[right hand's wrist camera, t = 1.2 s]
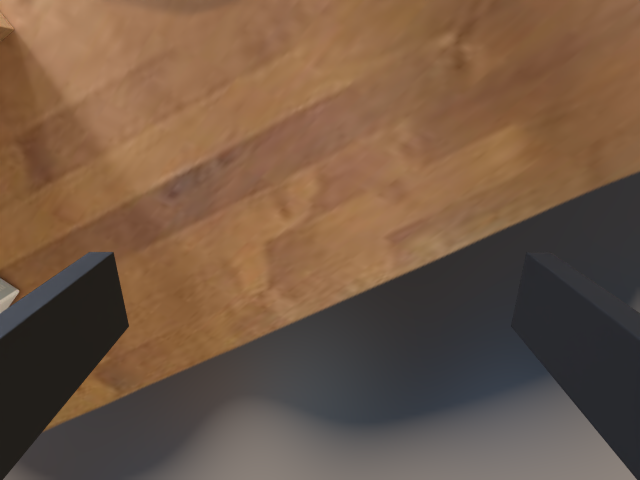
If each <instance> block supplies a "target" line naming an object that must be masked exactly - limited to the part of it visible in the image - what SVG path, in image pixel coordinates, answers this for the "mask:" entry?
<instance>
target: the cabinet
mask: <svg viewBox="0 0 640 480" xmlns="http://www.w3.org/2000/svg"><path fill="white" fill-rule="evenodd" d="M13 31H14V28H13V27H12V26H11V24H10V23H9V22H8V21H7V20H6V18H5V17H4V16H3V15H2V13H1V12H0V42H1V41H2V40H3V39H4V38H6V37H7V36H8V35H9V34H10V33H11V32H13Z"/></svg>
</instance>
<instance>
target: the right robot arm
mask: <svg viewBox="0 0 640 480" xmlns="http://www.w3.org/2000/svg"><path fill="white" fill-rule="evenodd" d="M128 327H129V324H128V320H127V315H126V310H125V305H124V300H123V296H122V291H121V286H120V281H119V276H118V272H117V267H116V262H115V257H114V252H89V253H87V254H86V255H85V256H83V257H82V258H80V259H79V260H77V261H76V262H74V263H73V264H71V265H70V266H69V267H67V268H66V269H64V270H63V271H61V272H60V273H58V274H57V275H55V276H54V277H52V278H51V279H50V280H48V281H47V282H45V283H44V284H42V285H41V286H39V287H38V288H36V289H35V290H34V291H32V292H31V293H29V294H28V295H26V296H25V297H23V298H22V299H20V300H19V301H17V302H16V303H15V304H13V305H12V306H10V307H9V308H7V309H6V310H4V311H3V312H1V313H0V480H3V479H4V478H5V476H6V475H7V474H8V473H9V471H10V470H11V469H12V468H13V466H14V465H15V464H16V463H17V462H18V461H19V459H20V458H21V457H22V456H23V454H24V453H25V452H26V451H27V449H28V448H29V447H30V446H31V445H32V443H33V442H34V441H35V440H36V439H37V437H38V436H39V435H40V434H41V433H42V431H43V430H44V429H45V428H46V426H47V425H48V424H49V423H50V422H51V420H52V419H53V418H54V417H55V416H56V414H57V413H58V412H59V411H60V409H61V408H62V407H63V406H64V405H65V403H66V402H67V401H68V400H69V399H70V397H71V396H72V395H73V394H74V392H75V391H76V390H77V389H78V388H79V386H80V385H81V384H82V383H83V381H84V380H85V379H86V378H87V377H88V375H89V374H90V373H91V372H92V371H93V369H94V368H95V367H96V366H97V364H98V363H99V362H100V361H101V360H102V358H103V357H104V356H105V355H106V354H107V352H108V351H109V350H110V349H111V347H112V346H113V345H114V344H115V343H116V341H117V340H118V339H119V338H120V337H121V335H122V334H123V333H124V332H125V330H126V329H127V328H128ZM511 327H512V328H513V329H514V330H515V332H516V333H517V334H518V335H519V337H520V338H521V339H522V340H523V341H524V343H525V344H526V345H527V346H528V347H529V349H530V350H531V351H532V352H533V353H534V355H535V356H536V357H537V358H538V360H539V361H540V362H541V363H542V364H543V366H544V367H545V368H546V369H547V371H548V372H549V373H550V374H551V375H552V377H553V378H554V379H555V380H556V381H557V383H558V384H559V385H560V386H561V387H562V389H563V390H564V391H565V392H566V394H567V395H568V396H569V397H570V399H571V400H572V401H573V402H574V403H575V405H576V406H577V407H578V408H579V409H580V411H581V412H582V413H583V414H584V415H585V417H586V418H587V419H588V420H589V422H590V423H591V424H592V425H593V426H594V428H595V429H596V430H597V431H598V433H599V434H600V435H601V436H602V437H603V439H604V440H605V441H606V442H607V443H608V445H609V446H610V447H611V448H612V450H613V451H614V452H615V453H616V454H617V456H618V457H619V458H620V459H621V460H622V462H623V463H624V464H625V465H626V467H627V468H628V469H629V470H630V471H631V473H632V474H633V475H634V476H635V478H636V479H637V480H640V313H638V312H637V311H636V310H634V309H633V308H631V307H630V306H628V305H627V304H625V303H624V302H622V301H621V300H620V299H618V298H617V297H615V296H614V295H612V294H611V293H609V292H608V291H606V290H605V289H603V288H602V287H601V286H599V285H598V284H596V283H595V282H593V281H592V280H590V279H589V278H588V277H586V276H585V275H583V274H582V273H580V272H579V271H577V270H576V269H574V268H573V267H571V266H570V265H569V264H567V263H566V262H564V261H563V260H561V259H560V258H558V257H557V256H555V255H554V254H553V253H551V252H527V253H526V257H525V262H524V267H523V272H522V276H521V281H520V286H519V291H518V296H517V300H516V305H515V310H514V315H513V320H512V324H511Z"/></svg>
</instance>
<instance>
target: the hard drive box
mask: <svg viewBox="0 0 640 480" xmlns="http://www.w3.org/2000/svg"><path fill="white" fill-rule="evenodd" d="M18 293H19V290H18V289H16V288H15V287H13V286H12V285H10V284H9V283H7V282H5V281H4V280H2V279H1V278H0V313H1V312H3V311H4V310H6V309H7V308H8V307H9V306H10V304H11V303H12V301H13V300H14V299H15V297H16V296H17V295H18Z"/></svg>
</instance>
